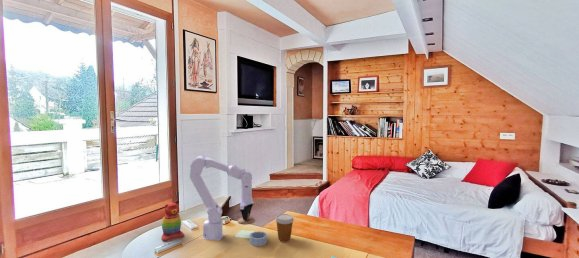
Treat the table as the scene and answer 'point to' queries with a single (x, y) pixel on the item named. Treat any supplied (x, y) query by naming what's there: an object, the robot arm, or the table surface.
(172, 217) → the stacking bear
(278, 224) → the disposable coffee cup
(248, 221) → the lid
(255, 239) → the bowl
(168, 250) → the table surface
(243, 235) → the mat
